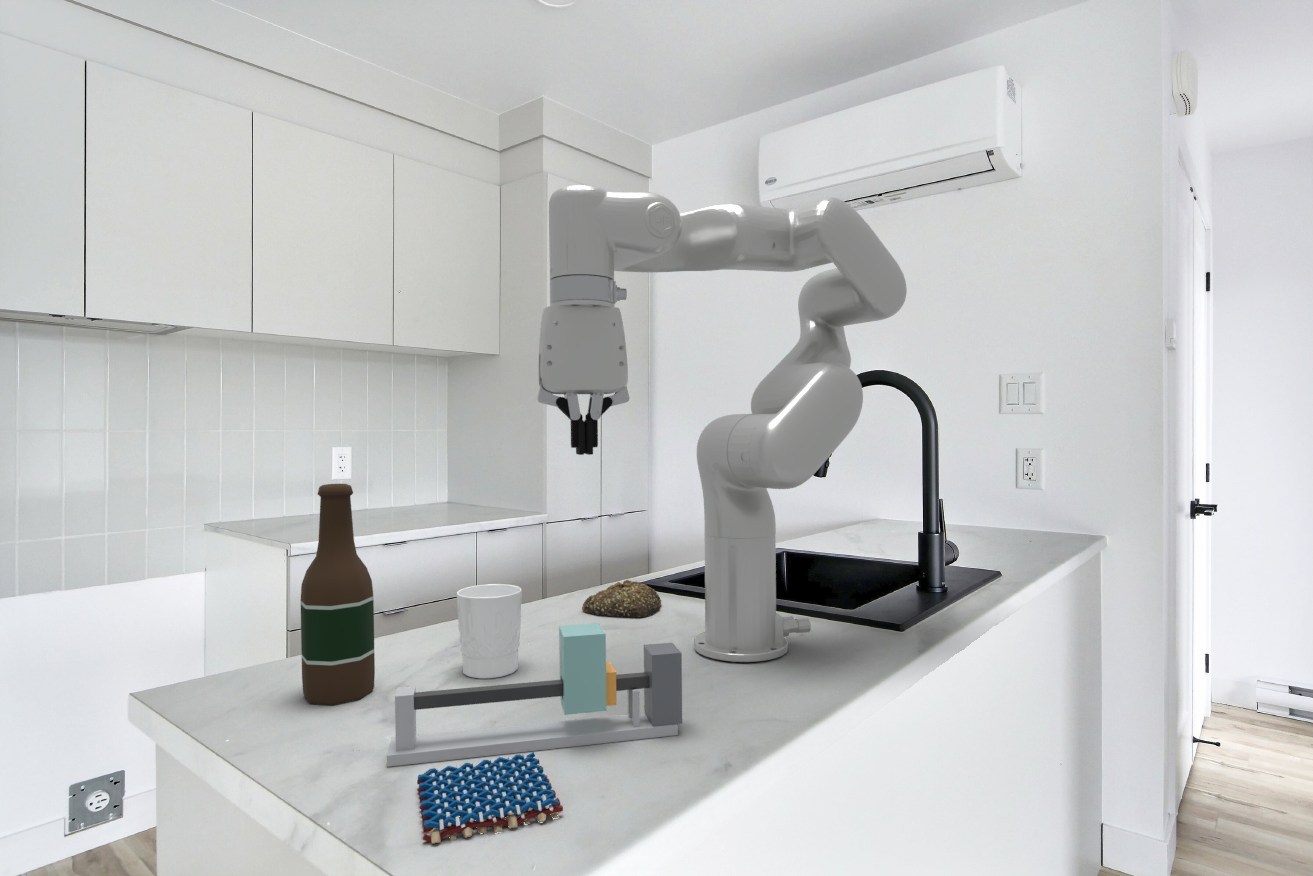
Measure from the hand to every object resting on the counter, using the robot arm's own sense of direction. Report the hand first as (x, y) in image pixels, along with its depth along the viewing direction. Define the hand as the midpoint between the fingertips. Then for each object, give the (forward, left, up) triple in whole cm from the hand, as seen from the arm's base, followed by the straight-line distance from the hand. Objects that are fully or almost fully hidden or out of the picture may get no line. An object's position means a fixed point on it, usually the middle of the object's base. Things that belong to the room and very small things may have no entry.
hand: (584, 453), depth 88 cm
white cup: (+11, -8, -27) cm, 31 cm away
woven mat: (+12, +26, -28) cm, 40 cm away
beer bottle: (+28, -4, -27) cm, 39 cm away
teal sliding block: (+3, +15, -24) cm, 28 cm away
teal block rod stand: (+7, +15, -27) cm, 32 cm away
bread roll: (-11, -35, -28) cm, 46 cm away
